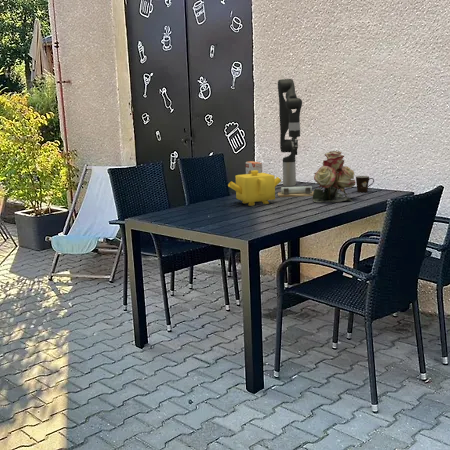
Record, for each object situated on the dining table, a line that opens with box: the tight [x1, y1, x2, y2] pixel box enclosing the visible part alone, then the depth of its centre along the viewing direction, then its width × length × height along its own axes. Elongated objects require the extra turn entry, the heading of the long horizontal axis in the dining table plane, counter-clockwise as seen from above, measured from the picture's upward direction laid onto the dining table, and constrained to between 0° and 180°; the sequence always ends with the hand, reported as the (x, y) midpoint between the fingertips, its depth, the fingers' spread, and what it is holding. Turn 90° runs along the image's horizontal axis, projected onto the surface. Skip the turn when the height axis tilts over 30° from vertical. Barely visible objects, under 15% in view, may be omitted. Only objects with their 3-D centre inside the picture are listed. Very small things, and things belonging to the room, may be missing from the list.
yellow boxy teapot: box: [227, 170, 282, 206], centre depth 361 cm, size 35×29×20 cm
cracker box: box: [245, 160, 263, 174], centre depth 399 cm, size 14×6×21 cm, turn 25°
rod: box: [280, 185, 313, 194], centre depth 383 cm, size 20×4×4 cm, turn 89°
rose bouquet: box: [312, 150, 356, 203], centre depth 360 cm, size 26×29×30 cm
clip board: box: [277, 187, 314, 198], centre depth 383 cm, size 11×24×5 cm, turn 89°
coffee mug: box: [355, 175, 375, 194], centre depth 384 cm, size 12×9×10 cm
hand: (294, 154), depth 387 cm, fingers open, 8 cm apart
